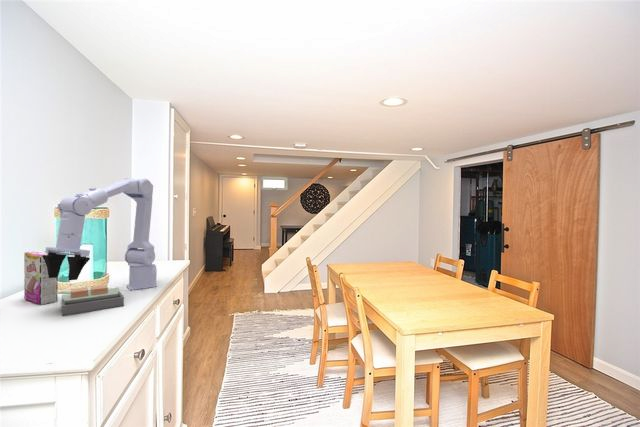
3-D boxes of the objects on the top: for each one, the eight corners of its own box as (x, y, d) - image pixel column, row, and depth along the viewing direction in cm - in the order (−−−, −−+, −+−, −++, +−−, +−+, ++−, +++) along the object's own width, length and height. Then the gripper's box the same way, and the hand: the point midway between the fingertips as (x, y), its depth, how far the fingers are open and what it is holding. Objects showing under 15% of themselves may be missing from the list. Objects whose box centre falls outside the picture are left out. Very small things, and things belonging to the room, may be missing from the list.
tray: (119, 299, 104) (119, 290, 104) (123, 306, 98) (123, 297, 98) (61, 308, 94) (61, 298, 94) (62, 316, 88) (62, 306, 88)
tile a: (106, 290, 108) (106, 284, 108) (107, 293, 104) (107, 287, 104) (90, 292, 105) (90, 286, 105) (91, 295, 101) (91, 289, 101)
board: (117, 292, 112) (117, 287, 111) (121, 298, 105) (121, 293, 105) (61, 300, 101) (61, 294, 101) (61, 307, 95) (61, 301, 94)
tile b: (87, 292, 104) (87, 287, 104) (88, 296, 101) (88, 290, 101) (70, 295, 101) (70, 289, 101) (70, 298, 98) (70, 292, 98)
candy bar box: (22, 300, 100) (23, 252, 100) (41, 296, 104) (42, 250, 104) (39, 306, 95) (40, 255, 95) (58, 301, 100) (59, 253, 99)
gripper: (37, 232, 90) (29, 277, 88) (76, 235, 87) (68, 282, 85) (61, 234, 96) (54, 276, 95) (98, 236, 93) (91, 280, 92)
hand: (62, 278), depth 90 cm, fingers open, 7 cm apart
